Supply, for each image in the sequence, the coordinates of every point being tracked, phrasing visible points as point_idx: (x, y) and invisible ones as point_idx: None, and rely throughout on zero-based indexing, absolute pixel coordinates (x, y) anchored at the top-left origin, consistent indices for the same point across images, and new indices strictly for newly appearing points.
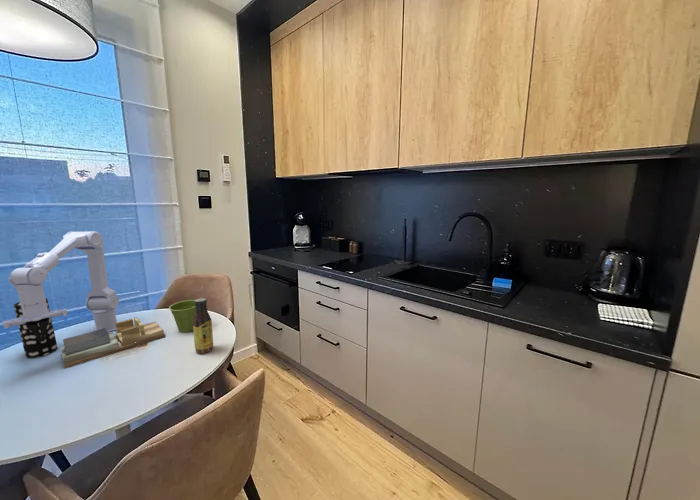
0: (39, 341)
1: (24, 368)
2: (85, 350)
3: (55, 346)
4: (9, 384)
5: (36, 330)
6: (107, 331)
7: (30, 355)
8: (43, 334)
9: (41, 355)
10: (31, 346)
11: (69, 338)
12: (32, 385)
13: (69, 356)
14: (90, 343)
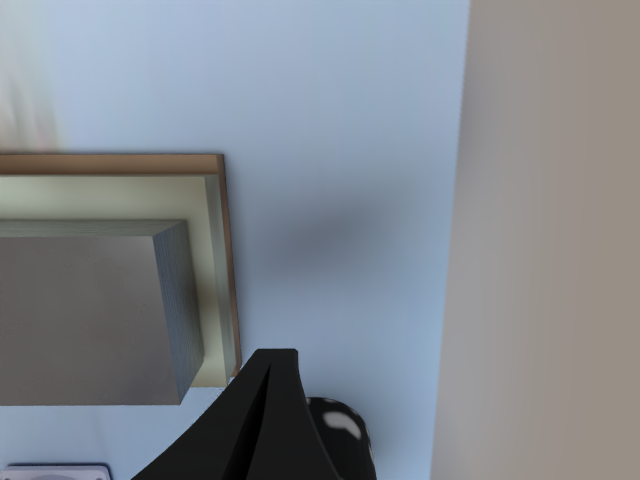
0: (291, 352)
1: (379, 318)
2: (86, 210)
3: None
4: (441, 174)
5: (273, 475)
6: (56, 470)
7: (354, 423)
8: (230, 397)
9: (316, 402)
10: (348, 467)
11: (140, 386)
12: (360, 54)
13: (170, 184)
14: (16, 227)
